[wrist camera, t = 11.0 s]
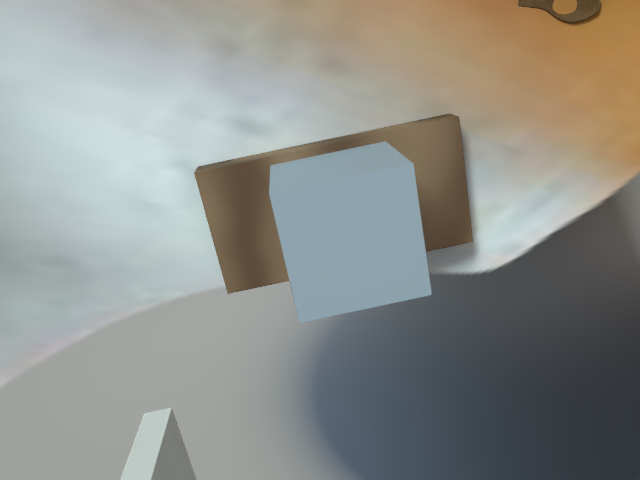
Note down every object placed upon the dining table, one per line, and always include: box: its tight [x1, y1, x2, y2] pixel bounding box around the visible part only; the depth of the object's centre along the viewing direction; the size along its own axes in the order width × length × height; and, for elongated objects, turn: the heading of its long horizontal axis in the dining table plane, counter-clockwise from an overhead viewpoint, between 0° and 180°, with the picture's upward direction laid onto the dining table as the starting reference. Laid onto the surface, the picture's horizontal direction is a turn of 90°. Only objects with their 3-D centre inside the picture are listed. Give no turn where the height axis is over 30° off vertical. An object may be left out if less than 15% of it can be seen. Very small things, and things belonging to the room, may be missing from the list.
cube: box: [269, 141, 432, 323], centre depth 31 cm, size 7×7×7 cm
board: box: [194, 114, 473, 294], centre depth 35 cm, size 16×8×2 cm, turn 101°
